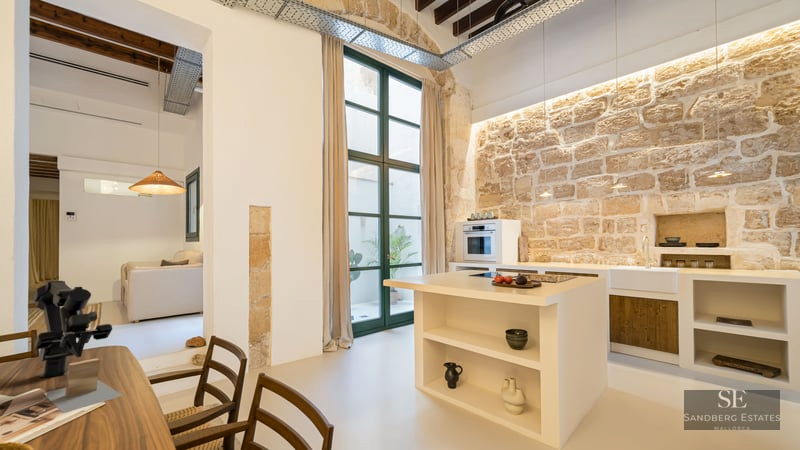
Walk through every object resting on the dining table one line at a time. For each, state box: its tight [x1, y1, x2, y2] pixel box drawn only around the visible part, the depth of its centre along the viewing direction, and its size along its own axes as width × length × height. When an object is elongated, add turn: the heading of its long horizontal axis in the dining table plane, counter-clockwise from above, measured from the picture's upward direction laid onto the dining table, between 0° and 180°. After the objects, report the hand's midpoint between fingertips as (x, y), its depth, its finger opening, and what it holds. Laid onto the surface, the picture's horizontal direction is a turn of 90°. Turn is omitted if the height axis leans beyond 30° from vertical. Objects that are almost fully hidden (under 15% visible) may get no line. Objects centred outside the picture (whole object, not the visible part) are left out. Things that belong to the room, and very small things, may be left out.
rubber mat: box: [45, 379, 124, 414], centre depth 106 cm, size 22×14×1 cm, turn 58°
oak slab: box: [65, 358, 101, 398], centre depth 108 cm, size 3×7×10 cm, turn 148°
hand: (79, 356), depth 111 cm, fingers closed
